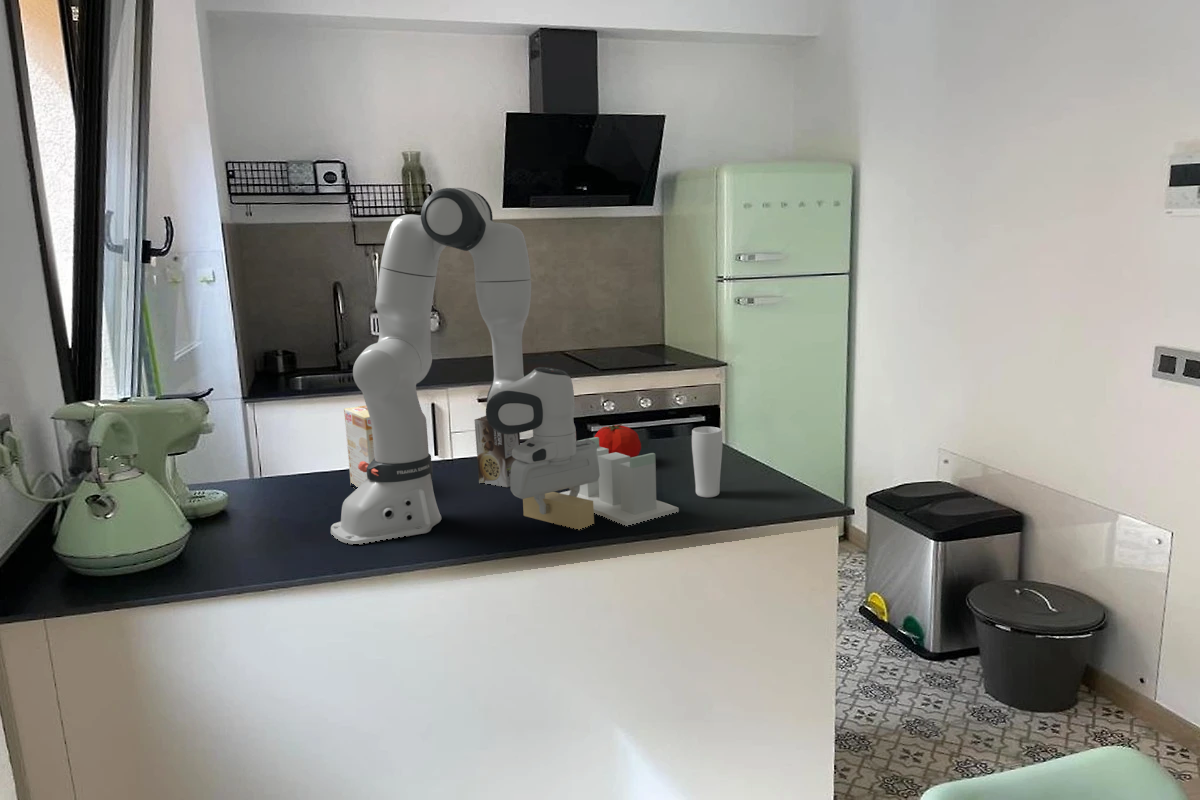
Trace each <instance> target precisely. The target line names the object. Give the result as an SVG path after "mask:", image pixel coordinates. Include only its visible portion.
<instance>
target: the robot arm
mask: <svg viewBox="0 0 1200 800" xmlns="http://www.w3.org/2000/svg"><path fill="white" fill-rule="evenodd" d="M493 218H494V217H493V210H492V208H491V206H490V203H489V202H488V201H487V199H486V198H485V197H484V196H482V195H481V194H480V193H478V192H476V191H473V190H470V189H468V188H463V187H445V188H440V189H437V190H436V191H433V192H432V193H431V194H430V195H428V196H427V198H426V199H425V201H424V202H423V204H422V207H421V211H420V214H413V213H412V214H404V215H400V216H398V217H396V218H395V219H393V221H392V222H391V224H390V227H389V229H388V232H387V235H386V238H385V243H384V247H383V250H382V255H381V261H380V266H379V274H378V282H377V287H376V294H375V301H374V302H375V303H374V304H375V305H374V306H375V310H376V312H377V317H378V328H379V329H378V331H379V332H378V339H377V342H375V343H372V344H370V345H368V346H367V347H366V348H365V349H364V350H362V352H361V353H360V354H359V355H358V357H357V358H356V360H355V362H354V364H353V368H352V376H353V380H354V383H355V385H356V386H357V388H358V389H359V390H360V391H361V392H362V396H363V399H364V402H365V406H367V409H368V413H369V416H370V420H371V426H372V435H373V445H374V456H375V458H374V459H373V461H372V462H371V463H370V464H368V463H366V462H365V461H362V462H360V464H358V469H360V470H361V471H363V472H367V479H366V480H365V481H364V482H363V483H362V484H361V485H360V486H359V487H358V488H357V489H355V490H354V491H352V493H350V494H349V495H348V496H347V497H346V498H345V499H344V501H343V502H342V505H341V515H340V521H338V522H335V523H333V524H332V525H331V526H330V534H331V536H332V535H333V536H334V537H333V536H332V537H333V538H334V539H336V540H337V539H338V540H337V541H340V542H341V543H344V544H347V543H348V545H353V544H359V545H364V544H363V543H365V544H369V542H371V543H376V542H375V541H377V542H381V541H380V540H383V541H387V540H386V539H388V540H392V538H394V539H399V538H398V537H400V538H403V537H404V536H406V537H410V536H416V535H421V534H422V535H423V534H427V533H430V532H431V531H432V528H433V527H434V526H436V525H437V524H439V523H440V522H441V520H442V515H441V514H440V510H439V508H438V504H437V501H436V496H435V493H434V487H433V481H432V480H433V462H432V455H431V453H430V452H429V437H428V424H427V418H426V416H425V414H424V413H423V410H422V408H421V404H420V400H419V396H418V392H417V384H419V383H421V382H422V381H423V380H424V379H425V378H426V376H427V375H428V373H429V371H430V370H431V367H432V362H433V353H432V351H431V350H432V349H431V348H432V347H431V346H432V345H431V344H432V338H431V337H432V334H431V333H432V329H431V325H432V323H431V321H432V319H431V317H432V308H433V302H434V301H433V300H434V294H435V288H436V281H437V280H436V279H437V274H438V266H439V261H440V256H441V255H442V252H443V250H445V248H446V247H449V248H454V249H458V250H460V251H464V252H469V254H470V256H471V257H472V261H473V265H474V266H473V269H474V285H475V295H476V296H475V297H476V301H477V306H478V309H479V312H480V316H481V318H482V320H483V321H484V323H485V325H486V327H487V329H488V332H489V334H490V340H491V348H492V360H493V378H492V382H491V384H490V387H489V389H488V392H487V396H486V407H485V416H486V417H487V420H488V423H489V424H490V426H491V427H492V428H493V429H494V430H496V431H497V432H499V433H502V434H516V433H525V432H529V431H532V436H531V437H530V438H528V439H527V440H525V441H524V442H522V443H520V445H518V446H516V447H515V448H513V450H512V456H513V458H515V459H516V460H515V461H514V462H513V464H512V466H511V475H510V492H511V493H512V495H513V496H514V497H516V498H519V499H520V500H523V499H525V498H529V497H533V496H534V499H535V500H536V502H537V503H538V505H539V511H540V513H541V514H547V513H550V510H549V509H550V505H547V504H545V503H544V501H543V499H545V494H546V493H550V492H558V491H562V490H566V489H569V491H570V490H571V491H570V494H569V495H570V496H574V497H577V495H578V493H579V491H580V485H584V484H588V483H592V482H596V481H598V479H599V477H600V470H599V463H598V458H597V445H596V444H595V442H594V441H592V440H590V439H589V438H584V439H585V440H584V439H582V440H583V441H579V440H577V431H576V429H577V428H576V425H575V423H574V415H575V412H576V404H575V403H576V402H575V401H576V400H575V391H574V385H573V380H572V378H571V376H570V375H569V374H568V373H567V372H566V371H565V370H562V369H559V368H556V367H549V366H537V367H535V368H534V369H533V370H532V371H530V373H528V374H526V375H525V373H524V372H525V371H524V359H523V356H524V355H523V332H524V327H525V324H526V322H527V319H528V317H529V314H530V307H531V299H532V277H531V276H532V274H531V266H530V265H531V264H530V257H529V251H528V246H527V242H526V238H525V234H524V233H523V231H522V230H521V228H519V227H518V226H515V225H514V224H511V223H507V222H497V221H493ZM591 442H592V443H591Z"/></svg>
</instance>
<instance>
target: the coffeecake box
mask: <svg viewBox="0 0 1200 800" xmlns="http://www.w3.org/2000/svg"><path fill="white" fill-rule="evenodd" d="M343 411H344V412H343V413H344V424H345V435H346V444H347V445H346V446H347V455H348V456H347V457H348V468H349V479H350V484H351V483H352V484H354V485H355V486H356V487H359V486H360V485H361V484H362V483H363V482H364V481H365V480H366V479H367V472H363V471H361V470H360V469H358V464H360V462H362V461H365V462H366V463H368V464H370V463H371V462H372V461H373V459H374V458H375V456H374V445H373V435H372V426H371V420H370V416H369V413H368V409H367V406H366V405H360V406H359V405H358V406H353V407H345V408H343Z"/></svg>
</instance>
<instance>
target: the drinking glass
mask: <svg viewBox="0 0 1200 800" xmlns="http://www.w3.org/2000/svg"><path fill="white" fill-rule="evenodd" d="M691 453H692V463H693V472H694V485H695V494H696V495H697V497H701V498H715V497H717V496H719V494H720V489H721V488H720V487H721V486H720V483H721V470H722V460H723V459H722V458H723V429H722V428H720V427H715V426H698V427H694V428H693V429H691Z"/></svg>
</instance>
